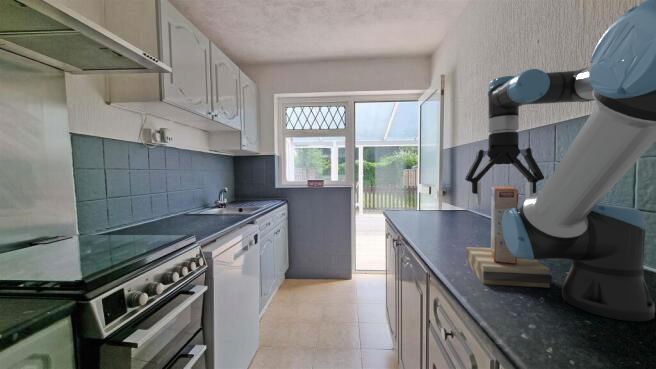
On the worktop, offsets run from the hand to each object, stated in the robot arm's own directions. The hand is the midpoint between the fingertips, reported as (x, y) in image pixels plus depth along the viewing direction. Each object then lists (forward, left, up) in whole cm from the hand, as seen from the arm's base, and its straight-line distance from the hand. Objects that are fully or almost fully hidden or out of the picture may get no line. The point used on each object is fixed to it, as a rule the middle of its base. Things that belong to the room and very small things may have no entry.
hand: (503, 204), depth 85 cm
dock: (0, 0, -21) cm, 21 cm away
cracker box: (0, 0, -16) cm, 16 cm away
